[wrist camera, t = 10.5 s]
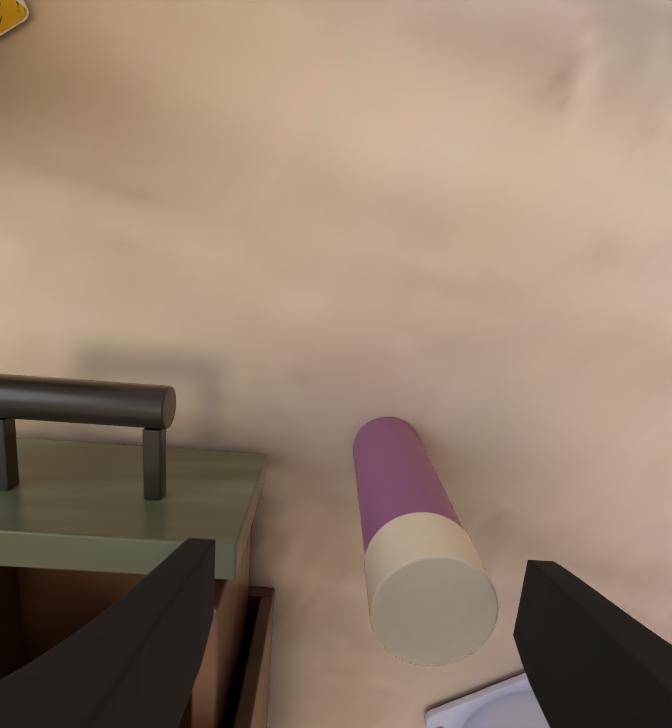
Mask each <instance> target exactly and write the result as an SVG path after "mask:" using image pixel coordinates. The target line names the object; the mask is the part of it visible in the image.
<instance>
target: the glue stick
mask: <svg viewBox="0 0 672 728" xmlns="http://www.w3.org/2000/svg"><path fill="white" fill-rule="evenodd" d="M353 456H354V464H355V473H356V482H357V490H358V499H359V508H360V516H361V525H362V534H363V542H364V551H365V563H364V567H365V576H366V585H367V594H368V603H369V612H370V621H371V625H372V629H373V631H374V633H375V635H376V637H377V639H378V640H379V642H380V643H381V644H382V645H383V646H384V648H385V649H387V650H388V651H389V652H390V653H391V654H393V655H394V656H396V657H397V658H399V659H401V660H403V661H406V662H409V663H412V664H416V665H422V666H441V665H446V664H451V663H454V662H457V661H460V660H462V659H464V658H466V657H468V656H469V655H471V654H473V653H474V652H475V651H476V650H478V649H479V648H480V647H481V646H482V645H483V644H484V643H485V642H486V640H487V639H488V638H489V636H490V635H491V633H492V631H493V629H494V627H495V624H496V621H497V617H498V598H497V593H496V591H495V588H494V586H493V584H492V582H491V580H490V578H489V576H488V574H487V572H486V570H485V568H484V566H483V564H482V562H481V560H480V557H479V555H478V553H477V551H476V549H475V547H474V545H473V543H472V541H471V540H470V538H469V536H468V535H467V533H466V532H465V531H464V529H463V527H462V525H461V523H460V521H459V519H458V517H457V515H456V513H455V511H454V509H453V507H452V505H451V503H450V501H449V498H448V496H447V494H446V492H445V490H444V488H443V486H442V484H441V482H440V480H439V478H438V476H437V474H436V472H435V470H434V468H433V466H432V464H431V462H430V460H429V458H428V456H427V454H426V451H425V449H424V447H423V445H422V443H421V441H420V439H419V437H418V435H417V433H416V432H415V430H414V429H413V428H412V427H411V426H410V425H409V424H408V423H406V422H404V421H402V420H400V419H397V418H392V417H384V418H378V419H375V420H373V421H371V422H369V423H367V424H366V425H365V426H364V427H362V428H361V430H360V431H359V432H358V434H357V436H356V438H355V440H354V444H353Z"/></svg>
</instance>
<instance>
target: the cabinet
mask: <svg viewBox="0 0 672 728" xmlns="http://www.w3.org/2000/svg"><path fill="white" fill-rule="evenodd" d="M273 607H274V589H273V588H258V587H248V610H247V633H246V657H245V673H244V678H243V683H242V687H241V692H240V697H239V702H238V707H237V712H236V716H235V721H234V726H233V728H267V714H268V696H269V678H270V661H271V643H272V625H273Z"/></svg>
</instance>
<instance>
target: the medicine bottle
mask: <svg viewBox="0 0 672 728" xmlns="http://www.w3.org/2000/svg"><path fill="white" fill-rule="evenodd" d="M28 15H29V11H28V7H27V5H26V4H25V2H24V0H0V36H2V35H3V34H5V33H6V32H8V31H9V30H11V29H13V28H14V27H16V26H17V25H19V24H21V23H22V22H24V21H25V20H26V19H27V18H28Z"/></svg>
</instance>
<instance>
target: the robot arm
mask: <svg viewBox="0 0 672 728" xmlns="http://www.w3.org/2000/svg"><path fill="white" fill-rule="evenodd" d="M215 544H216V540H215V539H199V538H188V539H187V540H186V541H184V542H183V543H182V544H181V545H180V546H179V547H177V548H176V549H175V550H174V551H173V552H172V553H171V554H170V555H169V556H168V557H167V558H165V559H164V560H163V561H162V562H161V563H160V564H159V565H158V566H157V567H155V568H154V569H153V570H152V571H151V572H150V573H149V574H148V575H146V576H145V577H144V578H143V579H142V580H141V581H140V582H138V583H137V584H136V585H135V586H134V587H133V588H131V589H130V590H129V591H128V592H127V593H126V594H124V595H123V596H122V597H121V598H120V599H118V600H117V601H116V602H115V603H113V604H112V605H111V606H109V607H108V608H107V609H106V610H104V611H103V612H102V613H100V614H99V615H98V616H97V617H95V618H94V619H93V620H92V621H90V622H89V623H88V624H86V625H85V626H84V627H82V628H81V629H80V630H78V631H77V632H75V633H74V634H72V635H71V636H70V637H68V638H67V639H65V640H64V641H62V642H61V643H59V644H58V645H56V646H55V647H53V648H52V649H50V650H49V651H47V652H46V653H44V654H43V655H41V656H40V657H38V658H36V659H35V660H33V661H32V662H30V663H28V664H27V665H25V666H23V667H22V668H20V669H18V670H17V671H15V672H13V673H11V674H10V675H8V676H6V677H4V678H3V679H1V680H0V728H178V726H179V724H180V721H181V718H182V716H183V713H184V710H185V708H186V705H187V702H188V699H189V697H190V694H191V691H192V689H193V686H194V683H195V680H196V678H197V675H198V672H199V669H200V667H201V664H202V660H203V656H204V653H205V649H206V645H207V641H208V637H209V633H210V629H211V625H212V621H213V615H214V579H215ZM513 636H514V639H515V642H516V645H517V648H518V651H519V655H520V658H521V661H522V664H523V667H524V670H525V673H523V674H520V675H518V676H515V677H513V678H510V679H507V680H505V681H502V682H500V683H497V684H495V685H492V686H490V687H487V688H485V689H482V690H479V691H477V692H474V693H472V694H469V695H467V696H464V697H462V698H459V699H457V700H454V701H451V702H449V703H446V704H444V705H441V706H439V707H436V708H434V709H431V710H429V711H428V712H427V713H426V714H425V722H426V726H427V728H672V645H671V644H669V643H668V642H666V641H665V640H664V639H662V638H661V637H659V636H658V635H656V634H655V633H653V632H652V631H651V630H649V629H648V628H646V627H645V626H644V625H642V624H641V623H639V622H638V621H637V620H635V619H634V618H632V617H631V616H630V615H628V614H627V613H625V612H624V611H623V610H621V609H620V608H619V607H617V606H616V605H615V604H613V603H612V602H610V601H609V600H608V599H606V598H605V597H604V596H602V595H601V594H600V593H598V592H597V591H596V590H594V589H593V588H591V587H590V586H589V585H587V584H586V583H585V582H583V581H582V580H580V579H579V578H578V577H576V576H575V575H573V574H572V573H571V572H569V571H568V570H566V569H565V568H563V567H562V566H560V565H559V564H557V563H555V562H553V561H538V560H528V562H527V567H526V572H525V577H524V582H523V588H522V593H521V598H520V603H519V608H518V613H517V618H516V624H515V629H514V634H513Z"/></svg>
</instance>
